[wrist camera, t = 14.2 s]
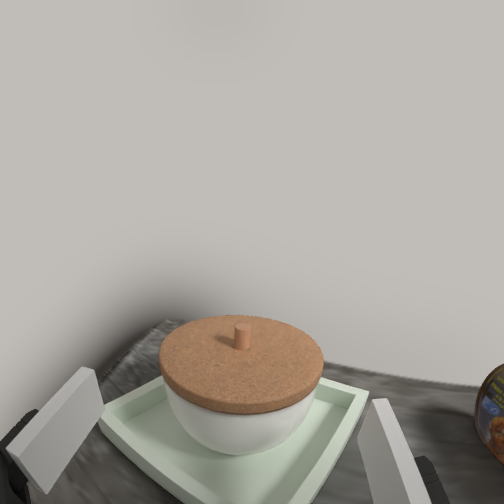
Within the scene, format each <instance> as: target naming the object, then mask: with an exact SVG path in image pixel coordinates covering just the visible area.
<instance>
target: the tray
mask: <svg viewBox="0 0 504 504" xmlns="http://www.w3.org/2000/svg"><path fill="white" fill-rule="evenodd" d="M368 394H369V391H365V390H362V389H358V388H355V387H351V386H348V385H344V384H341V383H338V382H335V381H331V380H328V379H325V378H322V377H321V378H320V380H319V382H318V384H317V388H316V393H315V396H314V400H313V402H312V405H311V407H310V409H309V412H308V414H307V416H306V418H305V419H304V421H303V422H302V424H301V426H300V427H299V428H298V429H297V430H296V432H295V433H294V434H293V435H292V436H291V437H289V438H288V439H287V440H286V441H285V442H283V443H281V444H280V445H278V446H276V447H274V448H272V449H270V450H267V451H265V452H262V453H257V454H253V455H242V456H237V455H229V454H224V453H220V452H217V451H213V450H211V449H209V448H207V447H205V446H203V445H201V444H200V443H198V442H197V441H195V440H194V439H192V438H191V437H190V436H189V435H188V434H187V433H186V432H185V431H184V430H183V428H182V427H181V426H180V425H179V423H178V422H177V420H176V418H175V416H174V414H173V412H172V410H171V408H170V405H169V403H168V400H167V397H166V393H165V388H164V381H163V376H162V375H161V376H160V377H158V378H156V379H154V380H152V381H150V382H148V383H146V384H145V385H143V386H141V387H139V388H137V389H135V390H133V391H131V392H129V393H127V394H125V395H123V396H121V397H119V398H117V399H115V400H113V401H111V402H109V403H107V404H105V405H104V407H105V411H104V412H103V414H102V415H101V417H100V418H99V419H98V424H99V426H100V429H101V432H102V433H103V434H104V435H105V436H106V437H107V438H108V439H109V440H110V441H111V442H112V443H113V444H114V445H115V446H116V447H117V448H118V449H119V450H120V451H121V452H122V453H123V454H124V455H125V456H126V457H127V458H129V459H130V460H131V461H132V462H133V463H134V464H135V465H136V466H137V467H139V468H140V469H141V470H142V471H143V472H144V473H146V474H147V475H148V476H149V477H150V478H151V479H153V480H154V481H155V482H156V483H158V484H159V485H160V486H161V487H163V488H164V489H165V490H167V491H168V492H169V493H171V494H172V495H173V496H175V497H176V498H177V499H179V500H180V501H181V502H183V503H184V504H311V503H312V502H313V500H314V498H315V497H316V495H317V494H318V492H319V491H320V489H321V488H322V486H323V484H324V483H325V481H326V479H327V478H328V476H329V474H330V473H331V471H332V469H333V468H334V466H335V464H336V462H337V461H338V459H339V457H340V455H341V453H342V452H343V450H344V448H345V446H346V444H347V442H348V440H349V438H350V436H351V434H352V432H353V430H354V428H355V426H356V424H357V422H358V420H359V418H360V416H361V414H362V411H363V409H364V406H365V403H366V400H367V397H368Z"/></svg>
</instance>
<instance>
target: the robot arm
mask: <svg viewBox="0 0 504 504" xmlns="http://www.w3.org/2000/svg"><path fill="white" fill-rule="evenodd" d="M104 411H105V407H104V404H103V400H102V397H101V393H100V390H99V386H98V383H97V379H96V375H95V371H94V370H93V369H90V368H86V367H83V366H82V367H81V368H80V369H79V370H78V371H77V372H76V373H75V374H74V375H73V376H72V377H71V378H70V379H69V380H68V381H67V383H65V384H64V386H63V387H62V388H61V389H60V390H59V391H58V392H57V393H56V394H55V395H54V396H53V397H52V398H51V399H50V400H49V401H48V403H46V404H45V406H44V407H43V408H42V409H41V410H40V411H38V410H36V409H34V410H32V411H30V412H28V413H26V415H25V416H24V417H23V418H22V419H21V421H19V422H18V423H17V424H16V426H14V427H13V428H12V429H11V431H9V433H8V434H7V435H6V436H5V437H4V438H3V439H2V440H1V441H0V504H31V500H30V495H29V490H28V486H27V484H26V483H27V481H28V480H29V482H30V483H31V484H32V485H33V486H34V488H36V489H38V490H39V491H41V492H43V493H44V494H46V495H47V494H48V493H49V491H50V490H51V488H52V487H53V485H54V484H55V482H56V481H57V479H58V478H59V476H60V475H61V473H62V472H63V470H64V469H65V467H66V466H67V464H68V463H69V461H70V460H71V458H72V457H73V456H74V454H75V453H76V451H77V450H78V448H79V447H80V445H81V444H82V442H83V441H84V440H85V438H86V437H87V435H88V434H89V432H90V431H91V429H92V428H93V427H94V425H95V424H96V422H97V421H98V419H99V418H100V417H101V415H102V414H103V412H104ZM357 441H358V444H359V448H360V452H361V455H362V459H363V463H364V467H365V471H366V474H367V478H368V482H369V486H370V490H371V495H372V499H373V503H374V504H450V503H449V500H448V498H447V496H446V493H445V491H444V489H443V486H442V484H441V482H440V481H439V477H438V475H437V474H436V470H435V468H434V466H433V464H432V462H430V461H429V460H428V459H427V458H426V457H425V456H421V457H416V458H413V456H412V453H411V451H410V449H409V446H408V444H407V442H406V439H405V437H404V435H403V433H402V430H401V428H400V426H399V424H398V421H397V419H396V417H395V415H394V413H393V410H392V408H391V406H390V404H389V402H388V400H387V398H383V399H372V401H371V403H370V406H369V409H368V411H367V414H366V417H365V419H364V422H363V424H362V427H361V429H360V432H359V434H358V436H357Z"/></svg>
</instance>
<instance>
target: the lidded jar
mask: <svg viewBox="0 0 504 504" xmlns="http://www.w3.org/2000/svg"><path fill="white" fill-rule="evenodd" d="M158 355H159V365H160V371H161V374H162V376H163V381H164V388H165V393H166V397H167V400H168V403H169V405H170V408H171V410H172V412H173V414H174V416H175V418H176V420H177V422H178V423H179V425H180V426H181V427H182V428H183V430H184V431H185V432H186V433H187V434H188V435H189V436H190V437H191V438H192V439H194V440H195V441H197V442H198V443H200V444H201V445H203V446H205V447H207V448H209V449H211V450H213V451H217V452H220V453H224V454H229V455H237V456H242V455H253V454H257V453H262V452H265V451H267V450H270V449H272V448H274V447H276V446H278V445H280V444H281V443H283V442H285V441H286V440H287V439H288V438H289V437H291V436H292V435H293V434H294V433H295V432H296V430H297V429H298V428H299V427H300V426H301V424H302V422H303V421H304V419H305V418H306V416H307V414H308V412H309V409H310V407H311V405H312V402H313V400H314V396H315V393H316V388H317V384H318V382H319V380H320V378H321V374H322V369H323V364H324V359H323V354H322V352H321V349H320V347H319V346H318V345H317V343H316V342H315V341H314V340H313V339H312V338H311V337H310V336H309V335H307V334H306V333H305V332H303V331H301V330H299V329H297V328H295V327H293V326H291V325H289V324H286V323H282V322H279V321H276V320H272V319H268V318H262V317H254V316H243V315H225V316H215V317H207V318H203V319H199V320H195V321H192V322H189V323H187V324H184V325H182V326H180V327H178V328H177V329H175V330H174V331H172V332H171V333H170V334H169V335H168V336H167V337H166V338H165V339H164V341H163V342H162V344H161V346H160V349H159V354H158Z"/></svg>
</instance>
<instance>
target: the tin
mask: <svg viewBox="0 0 504 504" xmlns="http://www.w3.org/2000/svg"><path fill="white" fill-rule="evenodd" d="M475 425H476V429H477V432H478V435H479V437H480V439H481V441H482V442H483V443H484V444H485V445H486V447H487V448H488V449H489V450H490V451H491V452H492V453H493V454H494V455H495V456H496V458H497V459H498V460H499V461H500V462H501V463H502V464H503V466H504V364H502V365H500V366H498V367H497V368H495V369H494V370H493V371H492V372H491V373H490V374H489V375H488V376H487V377H486V379H485V380H484V382H483V384H482V386H481V387H480V390H479V392H478V395H477V399H476V404H475Z"/></svg>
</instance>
